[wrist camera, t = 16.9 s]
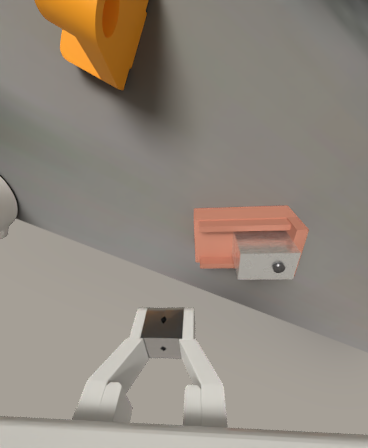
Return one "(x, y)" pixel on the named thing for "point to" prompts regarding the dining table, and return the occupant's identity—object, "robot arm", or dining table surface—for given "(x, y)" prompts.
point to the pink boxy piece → (239, 221)
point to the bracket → (98, 34)
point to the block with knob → (264, 255)
